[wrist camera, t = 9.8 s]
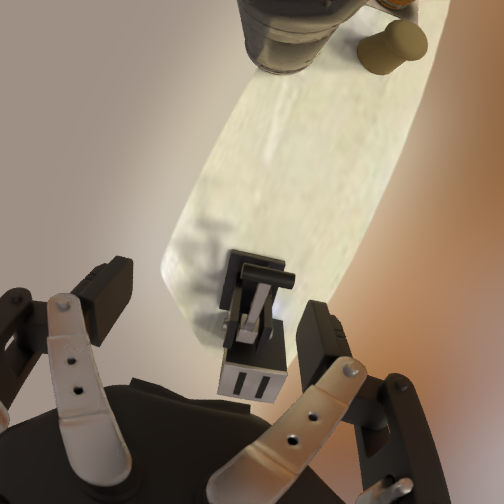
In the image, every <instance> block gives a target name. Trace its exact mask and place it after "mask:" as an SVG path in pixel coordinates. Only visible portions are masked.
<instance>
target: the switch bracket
mask: <svg viewBox="0 0 504 504" xmlns="http://www.w3.org/2000/svg"><path fill="white" fill-rule="evenodd" d="M244 263H248V264H253V265H257V266H262V267H266V268H271V269H275V270H280V271H284V268H285V261H281V260H277V259H273V258H268V257H264V256H259V255H255V254H250V253H246V252H241V251H237V250H231V254H230V259H229V264H228V268H227V273H226V277H225V282H224V287H223V291H222V296H221V301H220V306H219V309H222V310H227V311H229V314H228V319H224V323H223V328H222V330H226V331H225V337H224V343H223V348H228V349H231V347H232V343H233V339H234V336H235V332H236V328H237V324H238V318H239V313H241V314H247V315H248V312H249V309H250V306H251V304H252V301H253V298H254V295H255V292H256V289H257V286H258V284H259V283H258V282H253V281H248V280H244V279H241V278H240V277H241V272H242V267H243V264H244ZM277 290H278V287H276V286H272V285H271V288H270V290H269V292H268V295H267V297H266V300H265V302H264V305H263V307H262V310H261V312H260V314H259V317H260V321H259V330H258V335H257V337H256V350H255V354H259V355H263V354H264V352H265V349H266V346H267V343H268V341H269V339H271V338H272V335H273V323H272V306H273V303H274V299H275V296H276V293H277Z"/></svg>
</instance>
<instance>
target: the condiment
mask: <svg viewBox="0 0 504 504" xmlns="http://www.w3.org/2000/svg"><path fill="white" fill-rule="evenodd" d="M366 4H367V5H370V6H372V7H375V8H377V9H380V10H382V11H385V12H387V13H389V14H392V15H395V16H397V17H399V18H402V19H404V20H408V21H410V22H412V23H414V24H416V25H417V26H418V0H369V1H368V2H367V3H366Z"/></svg>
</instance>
